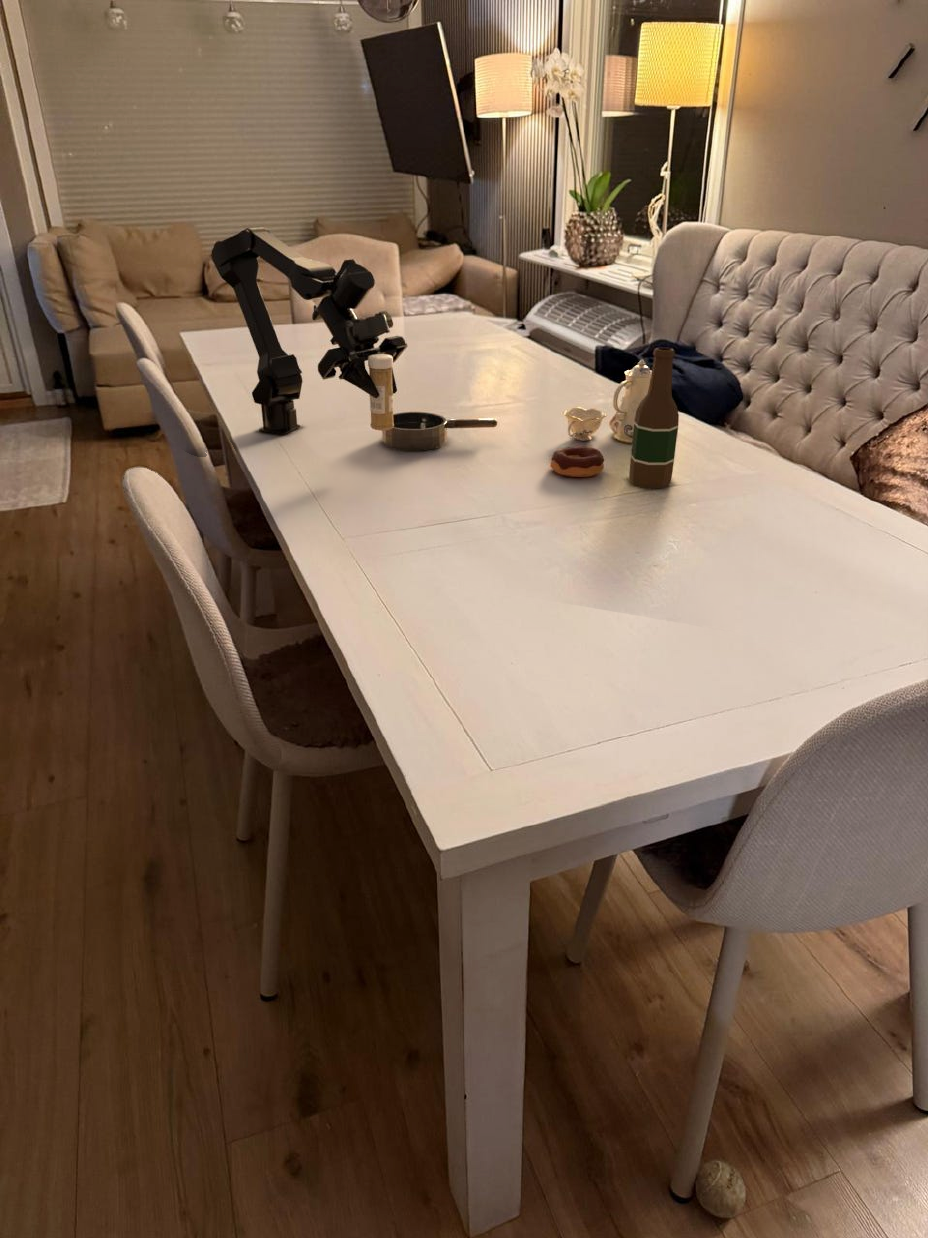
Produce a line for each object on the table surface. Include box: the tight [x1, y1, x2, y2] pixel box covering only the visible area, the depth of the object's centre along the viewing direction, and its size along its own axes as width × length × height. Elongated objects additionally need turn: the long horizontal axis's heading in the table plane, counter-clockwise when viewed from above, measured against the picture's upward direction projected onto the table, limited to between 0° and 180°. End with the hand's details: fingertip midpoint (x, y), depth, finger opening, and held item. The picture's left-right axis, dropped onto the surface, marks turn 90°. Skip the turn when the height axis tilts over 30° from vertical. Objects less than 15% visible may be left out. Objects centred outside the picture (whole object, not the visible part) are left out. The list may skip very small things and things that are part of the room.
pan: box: [381, 411, 448, 452], centre depth 184 cm, size 13×13×4 cm
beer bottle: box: [628, 346, 680, 489], centre depth 159 cm, size 8×8×24 cm
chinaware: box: [562, 358, 652, 444], centre depth 187 cm, size 28×17×17 cm, turn 135°
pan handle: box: [446, 418, 498, 429], centre depth 185 cm, size 11×2×2 cm, turn 96°
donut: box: [549, 446, 605, 478], centre depth 169 cm, size 10×10×4 cm
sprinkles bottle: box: [367, 354, 394, 431], centre depth 168 cm, size 5×5×14 cm
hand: (386, 394), depth 167 cm, fingers closed on sprinkles bottle, 4 cm apart
